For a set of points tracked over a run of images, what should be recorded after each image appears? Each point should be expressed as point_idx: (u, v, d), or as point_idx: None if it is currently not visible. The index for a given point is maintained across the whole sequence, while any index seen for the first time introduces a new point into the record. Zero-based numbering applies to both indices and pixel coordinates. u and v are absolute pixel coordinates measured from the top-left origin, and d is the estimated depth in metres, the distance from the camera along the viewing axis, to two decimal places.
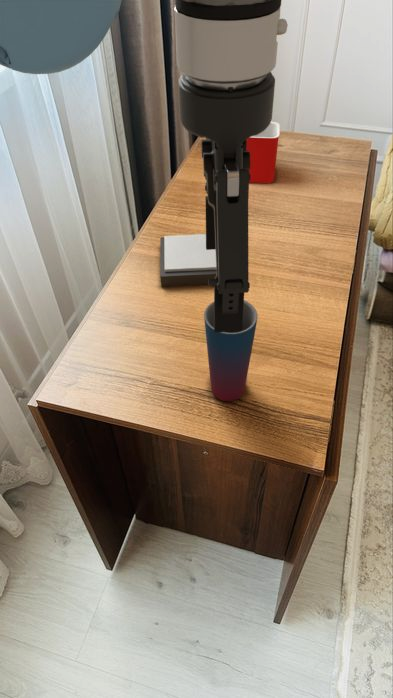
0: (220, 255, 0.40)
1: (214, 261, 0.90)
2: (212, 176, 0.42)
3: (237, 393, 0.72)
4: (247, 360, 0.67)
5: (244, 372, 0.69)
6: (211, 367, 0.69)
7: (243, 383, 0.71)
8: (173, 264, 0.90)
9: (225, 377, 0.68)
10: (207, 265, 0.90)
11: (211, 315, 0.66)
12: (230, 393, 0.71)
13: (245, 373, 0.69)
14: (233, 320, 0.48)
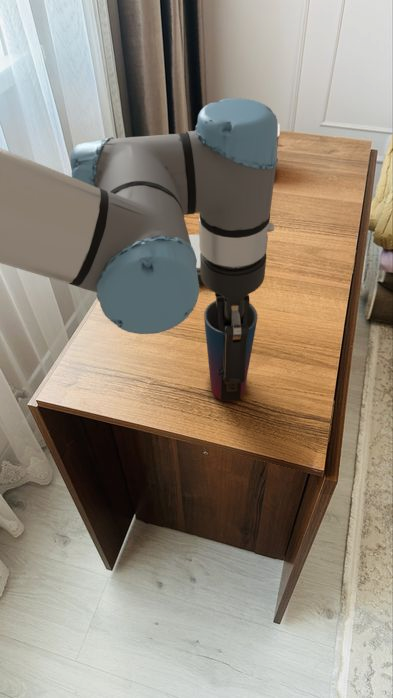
0: (226, 367, 0.61)
1: None
2: (222, 313, 0.59)
3: None
4: (247, 360, 0.67)
5: None
6: (211, 367, 0.69)
7: (243, 383, 0.71)
8: None
9: None
10: None
11: (211, 315, 0.66)
12: None
13: (245, 373, 0.69)
14: (234, 394, 0.69)
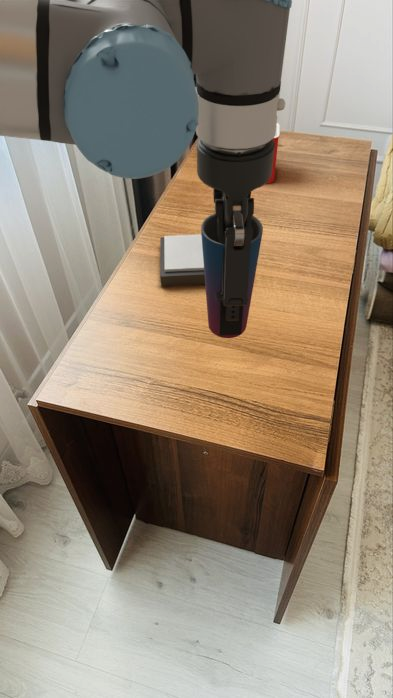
0: (226, 283, 0.52)
1: None
2: (222, 218, 0.51)
3: None
4: (250, 285, 0.58)
5: None
6: (209, 295, 0.60)
7: (245, 316, 0.62)
8: (173, 264, 0.90)
9: None
10: None
11: (209, 231, 0.57)
12: None
13: (247, 303, 0.61)
14: (234, 326, 0.61)
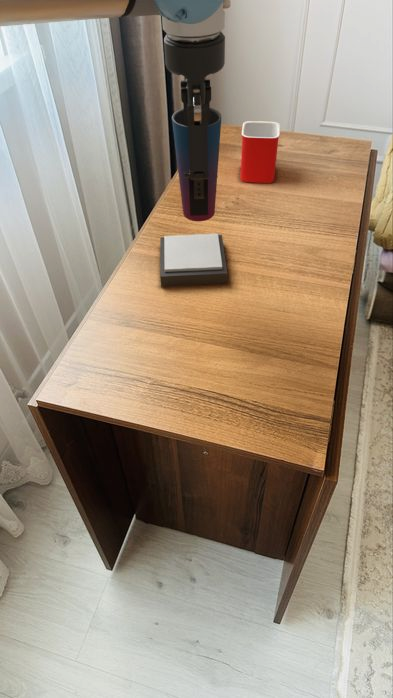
0: (190, 157, 0.65)
1: (214, 261, 0.90)
2: (186, 103, 0.64)
3: None
4: (214, 169, 0.72)
5: (211, 184, 0.73)
6: (181, 179, 0.73)
7: (212, 200, 0.75)
8: (173, 264, 0.90)
9: None
10: (207, 265, 0.90)
11: (179, 123, 0.70)
12: None
13: (213, 187, 0.74)
14: (202, 206, 0.74)
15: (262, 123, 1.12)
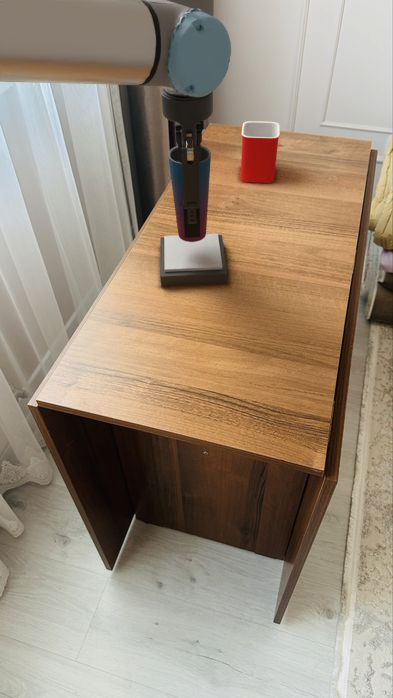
0: (184, 190, 0.76)
1: (214, 261, 0.90)
2: (180, 144, 0.75)
3: None
4: (205, 197, 0.82)
5: (203, 210, 0.84)
6: (176, 206, 0.84)
7: (203, 224, 0.86)
8: (173, 264, 0.90)
9: None
10: (207, 265, 0.90)
11: (175, 158, 0.81)
12: None
13: (204, 212, 0.84)
14: (195, 230, 0.85)
15: (262, 123, 1.12)
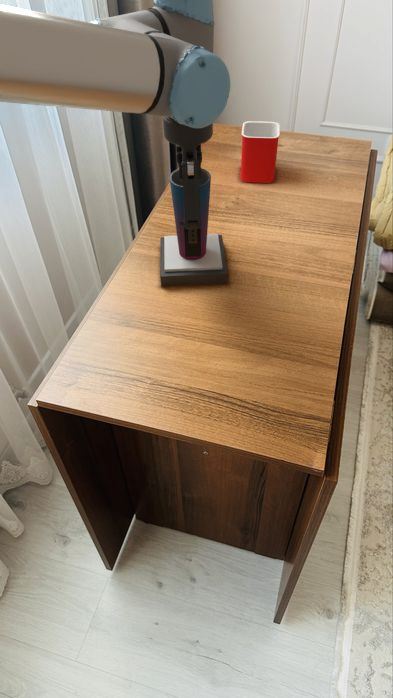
0: (185, 207, 0.75)
1: (214, 261, 0.90)
2: None
3: None
4: (205, 218, 0.85)
5: (203, 230, 0.87)
6: (177, 226, 0.87)
7: (203, 243, 0.89)
8: (173, 264, 0.90)
9: None
10: (207, 265, 0.90)
11: (176, 180, 0.84)
12: None
13: (204, 232, 0.87)
14: (196, 249, 0.83)
15: (262, 123, 1.12)
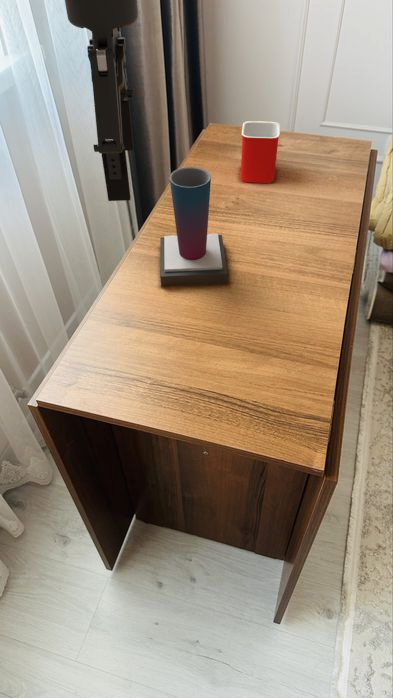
0: (97, 119, 0.53)
1: (214, 261, 0.90)
2: None
3: (199, 252, 0.90)
4: (205, 218, 0.85)
5: (203, 230, 0.87)
6: (177, 226, 0.87)
7: (203, 243, 0.89)
8: (173, 264, 0.90)
9: (188, 233, 0.86)
10: (207, 265, 0.90)
11: (176, 180, 0.84)
12: (193, 251, 0.89)
13: (204, 232, 0.87)
14: (122, 189, 0.60)
15: (262, 123, 1.12)
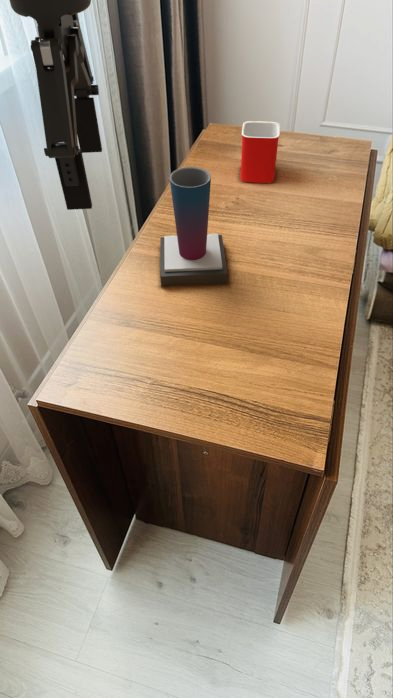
0: (44, 120, 0.47)
1: (214, 261, 0.90)
2: None
3: (199, 252, 0.90)
4: (205, 218, 0.85)
5: (203, 230, 0.87)
6: (177, 226, 0.87)
7: (203, 243, 0.89)
8: (173, 264, 0.90)
9: (188, 233, 0.86)
10: (207, 265, 0.90)
11: (176, 180, 0.84)
12: (193, 251, 0.89)
13: (204, 232, 0.87)
14: (81, 197, 0.54)
15: (262, 123, 1.12)
